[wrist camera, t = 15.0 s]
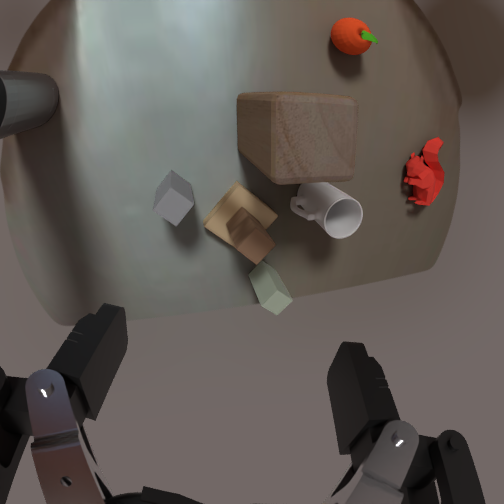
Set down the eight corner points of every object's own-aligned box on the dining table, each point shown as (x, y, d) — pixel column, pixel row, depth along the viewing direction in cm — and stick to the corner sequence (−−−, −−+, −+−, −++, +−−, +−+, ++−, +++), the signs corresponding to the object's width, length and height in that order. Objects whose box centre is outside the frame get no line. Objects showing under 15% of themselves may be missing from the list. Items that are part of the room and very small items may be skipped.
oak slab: (240, 246, 57) (244, 253, 55) (202, 219, 53) (204, 226, 50) (273, 209, 55) (278, 216, 53) (236, 180, 51) (239, 185, 48)
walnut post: (242, 237, 53) (256, 264, 44) (225, 223, 51) (236, 249, 42) (258, 220, 52) (276, 244, 43) (241, 206, 50) (256, 227, 41)
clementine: (364, 29, 41) (387, 25, 35) (360, 62, 44) (384, 60, 38) (325, 16, 39) (346, 8, 33) (321, 50, 42) (342, 46, 36)
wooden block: (295, 93, 45) (362, 97, 28) (294, 150, 50) (356, 183, 33) (235, 93, 43) (273, 91, 26) (236, 153, 48) (273, 188, 31)
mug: (330, 175, 54) (365, 197, 44) (326, 209, 57) (358, 237, 47) (279, 176, 52) (306, 198, 42) (276, 212, 55) (301, 242, 45)
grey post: (175, 202, 50) (176, 226, 41) (156, 188, 48) (152, 210, 39) (190, 183, 49) (194, 204, 40) (171, 169, 47) (170, 187, 38)
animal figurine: (439, 137, 55) (455, 142, 51) (428, 198, 62) (443, 206, 58) (405, 128, 53) (421, 132, 48) (394, 196, 60) (408, 205, 55)
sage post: (262, 284, 62) (277, 315, 53) (248, 274, 60) (261, 306, 52) (275, 270, 61) (292, 300, 53) (261, 260, 59) (277, 290, 51)
